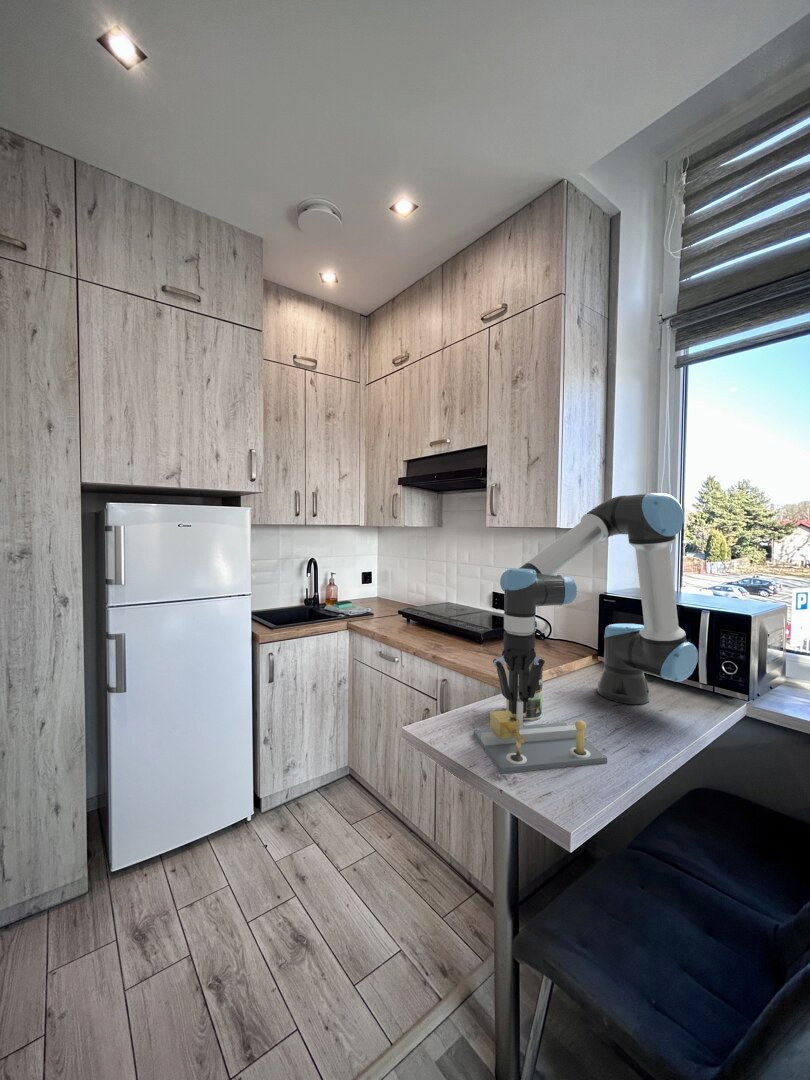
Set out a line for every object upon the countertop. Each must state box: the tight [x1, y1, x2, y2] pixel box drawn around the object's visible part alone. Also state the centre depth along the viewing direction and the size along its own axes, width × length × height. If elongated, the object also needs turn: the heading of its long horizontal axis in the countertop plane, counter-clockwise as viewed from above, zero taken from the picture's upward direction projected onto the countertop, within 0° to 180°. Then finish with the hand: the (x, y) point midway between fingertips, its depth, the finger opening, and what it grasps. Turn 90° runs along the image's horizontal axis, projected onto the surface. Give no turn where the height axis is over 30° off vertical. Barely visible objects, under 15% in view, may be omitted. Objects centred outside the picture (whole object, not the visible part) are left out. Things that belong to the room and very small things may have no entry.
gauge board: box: [472, 719, 608, 774], centre depth 106 cm, size 26×18×9 cm
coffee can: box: [505, 663, 544, 721], centre depth 125 cm, size 10×10×14 cm
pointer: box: [489, 709, 524, 756], centre depth 103 cm, size 5×12×6 cm, turn 11°
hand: (517, 725), depth 107 cm, fingers closed
